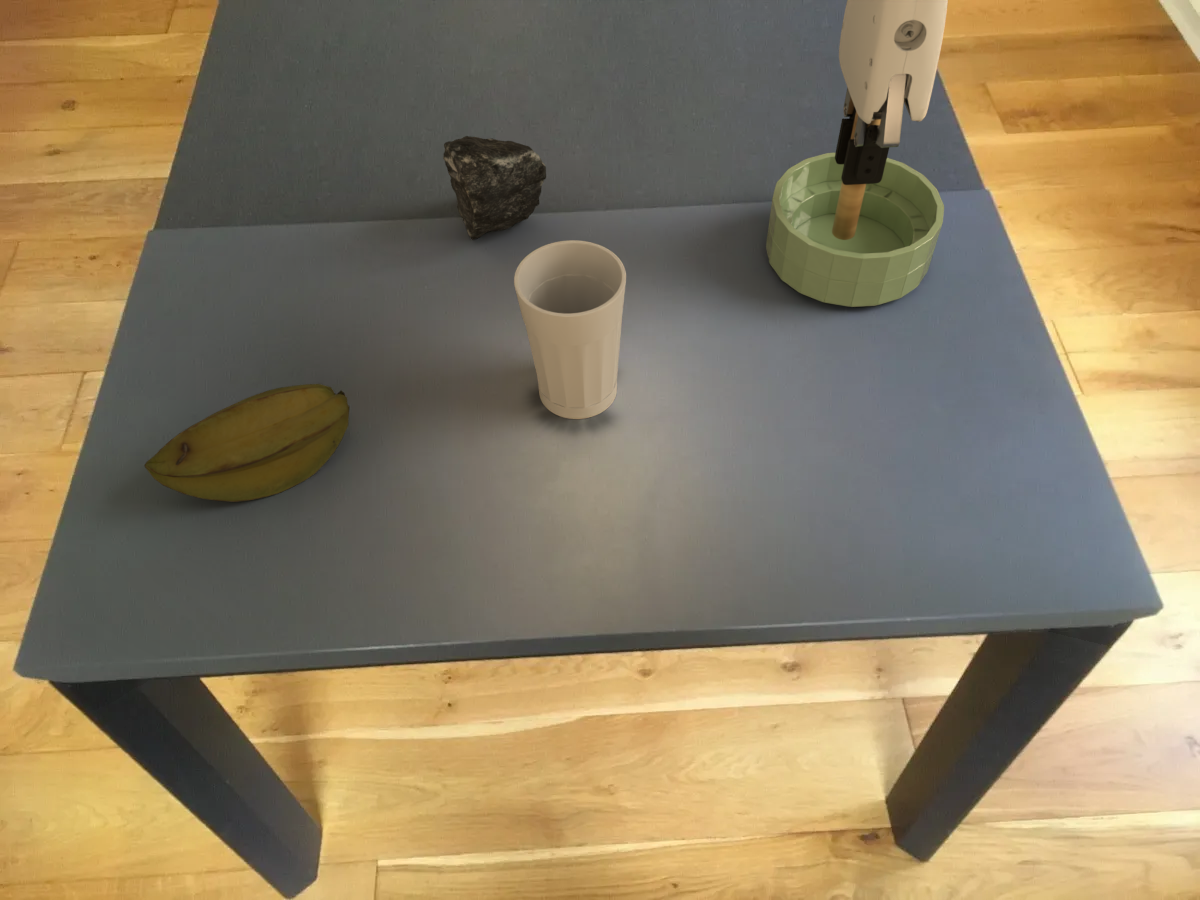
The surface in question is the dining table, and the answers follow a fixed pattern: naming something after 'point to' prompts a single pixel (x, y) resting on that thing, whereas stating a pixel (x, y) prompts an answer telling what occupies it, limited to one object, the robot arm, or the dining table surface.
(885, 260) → the bowl
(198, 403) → the dining table surface
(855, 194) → the stick
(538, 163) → the rock
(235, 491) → the fruit
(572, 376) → the cup
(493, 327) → the dining table surface
